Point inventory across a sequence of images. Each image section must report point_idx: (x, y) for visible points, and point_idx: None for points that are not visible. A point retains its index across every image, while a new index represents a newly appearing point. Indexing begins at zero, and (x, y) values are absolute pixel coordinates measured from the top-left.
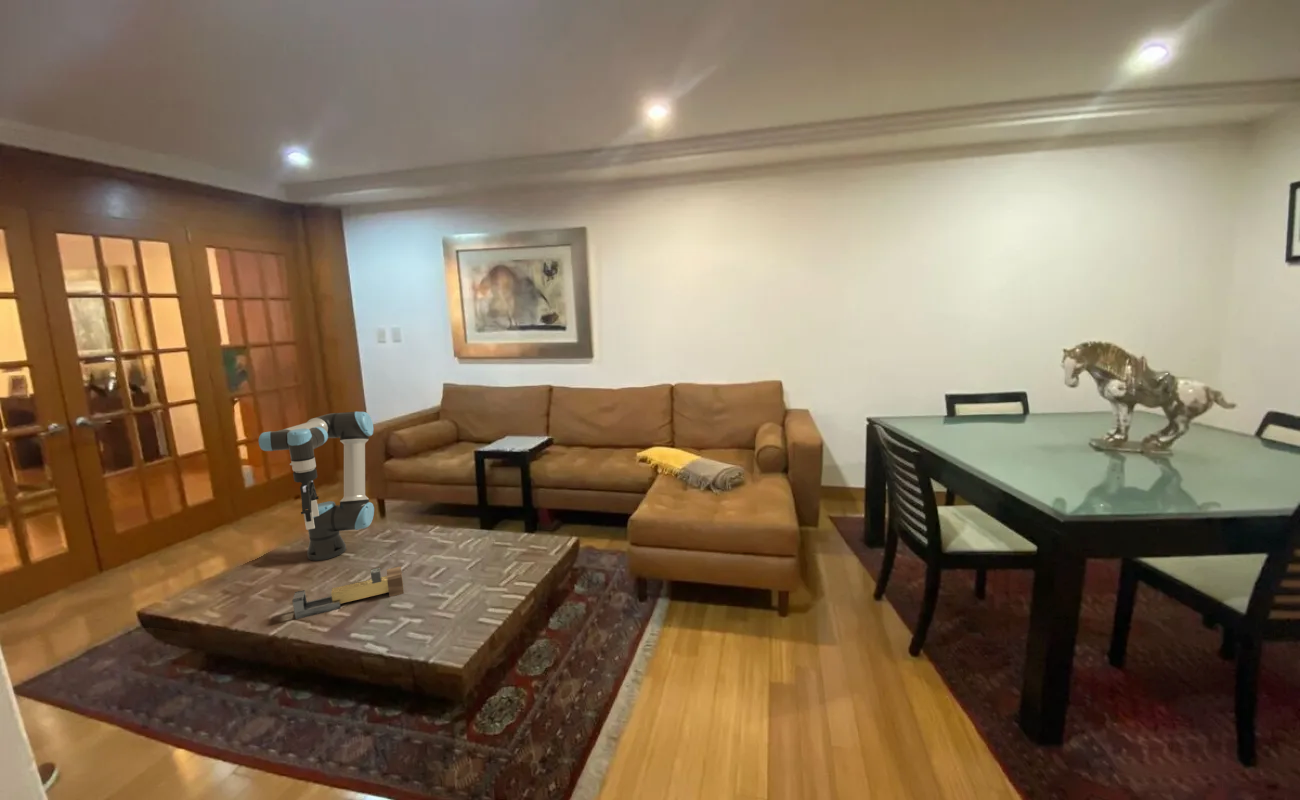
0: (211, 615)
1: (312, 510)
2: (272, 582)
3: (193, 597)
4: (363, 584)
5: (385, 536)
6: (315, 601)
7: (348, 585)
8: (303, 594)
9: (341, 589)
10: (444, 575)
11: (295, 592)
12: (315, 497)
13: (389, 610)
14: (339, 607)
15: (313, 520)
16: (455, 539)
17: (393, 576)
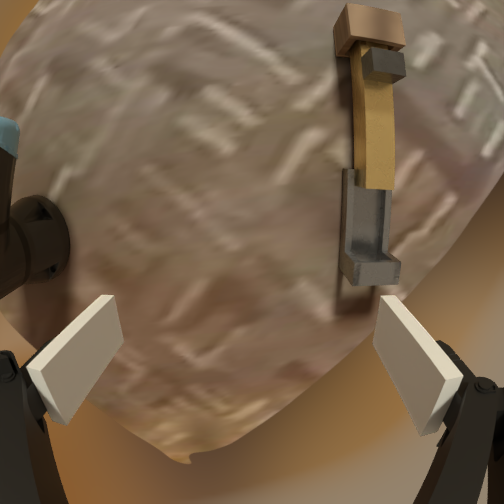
0: (253, 410)
1: (99, 355)
2: (147, 338)
3: (163, 435)
4: (386, 105)
5: (11, 112)
6: (351, 230)
7: (371, 144)
8: (379, 262)
9: (386, 163)
10: None
11: (355, 284)
12: (23, 396)
13: (437, 75)
14: None
15: (420, 326)
16: None
17: (402, 30)
